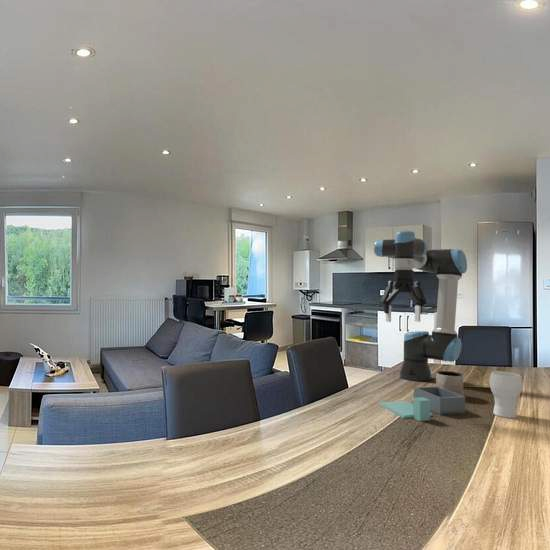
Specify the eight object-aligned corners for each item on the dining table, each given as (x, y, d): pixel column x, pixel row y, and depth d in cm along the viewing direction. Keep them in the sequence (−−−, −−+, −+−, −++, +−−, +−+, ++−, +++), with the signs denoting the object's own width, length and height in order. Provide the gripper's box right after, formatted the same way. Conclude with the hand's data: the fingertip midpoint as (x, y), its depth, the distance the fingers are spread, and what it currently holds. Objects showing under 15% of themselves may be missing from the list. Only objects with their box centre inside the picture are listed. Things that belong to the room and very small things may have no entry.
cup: (525, 420, 156) (526, 378, 156) (493, 417, 159) (494, 376, 159) (515, 411, 167) (516, 372, 167) (485, 409, 169) (486, 370, 169)
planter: (458, 393, 193) (458, 371, 193) (466, 400, 182) (467, 376, 182) (432, 392, 194) (433, 370, 194) (439, 398, 183) (440, 375, 183)
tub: (413, 402, 176) (414, 387, 176) (437, 401, 179) (437, 386, 179) (439, 415, 160) (440, 398, 160) (465, 413, 164) (465, 396, 164)
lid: (379, 405, 171) (379, 387, 171) (405, 403, 175) (405, 385, 175) (410, 421, 152) (410, 401, 152) (439, 419, 155) (439, 399, 155)
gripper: (381, 268, 173) (380, 322, 173) (436, 270, 180) (435, 322, 180) (372, 268, 180) (371, 320, 180) (424, 270, 187) (423, 320, 187)
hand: (403, 321), depth 180 cm, fingers open, 13 cm apart
